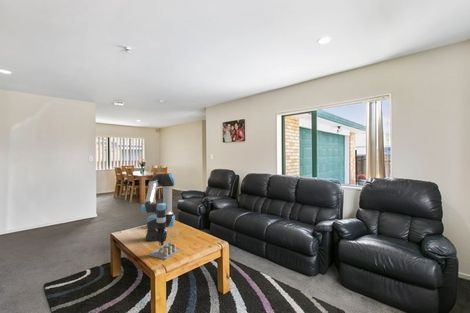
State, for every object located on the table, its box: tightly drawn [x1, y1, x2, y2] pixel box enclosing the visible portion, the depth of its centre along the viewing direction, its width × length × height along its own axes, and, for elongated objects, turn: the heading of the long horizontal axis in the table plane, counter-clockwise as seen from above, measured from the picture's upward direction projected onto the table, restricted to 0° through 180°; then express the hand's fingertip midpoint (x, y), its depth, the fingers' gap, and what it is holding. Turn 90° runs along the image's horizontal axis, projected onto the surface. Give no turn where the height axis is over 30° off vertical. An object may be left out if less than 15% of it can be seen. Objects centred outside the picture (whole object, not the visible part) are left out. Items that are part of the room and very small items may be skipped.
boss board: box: [148, 241, 180, 260], centre depth 194 cm, size 18×16×8 cm
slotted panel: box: [158, 242, 177, 256], centre depth 192 cm, size 9×10×6 cm
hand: (161, 249), depth 194 cm, fingers closed
